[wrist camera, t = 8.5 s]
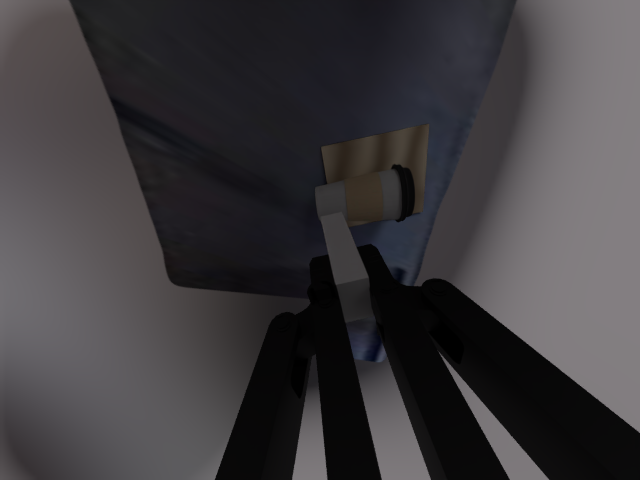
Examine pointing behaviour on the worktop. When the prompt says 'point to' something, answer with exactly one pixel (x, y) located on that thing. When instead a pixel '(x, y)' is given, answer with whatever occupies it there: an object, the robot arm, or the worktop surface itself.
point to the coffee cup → (369, 196)
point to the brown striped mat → (380, 158)
